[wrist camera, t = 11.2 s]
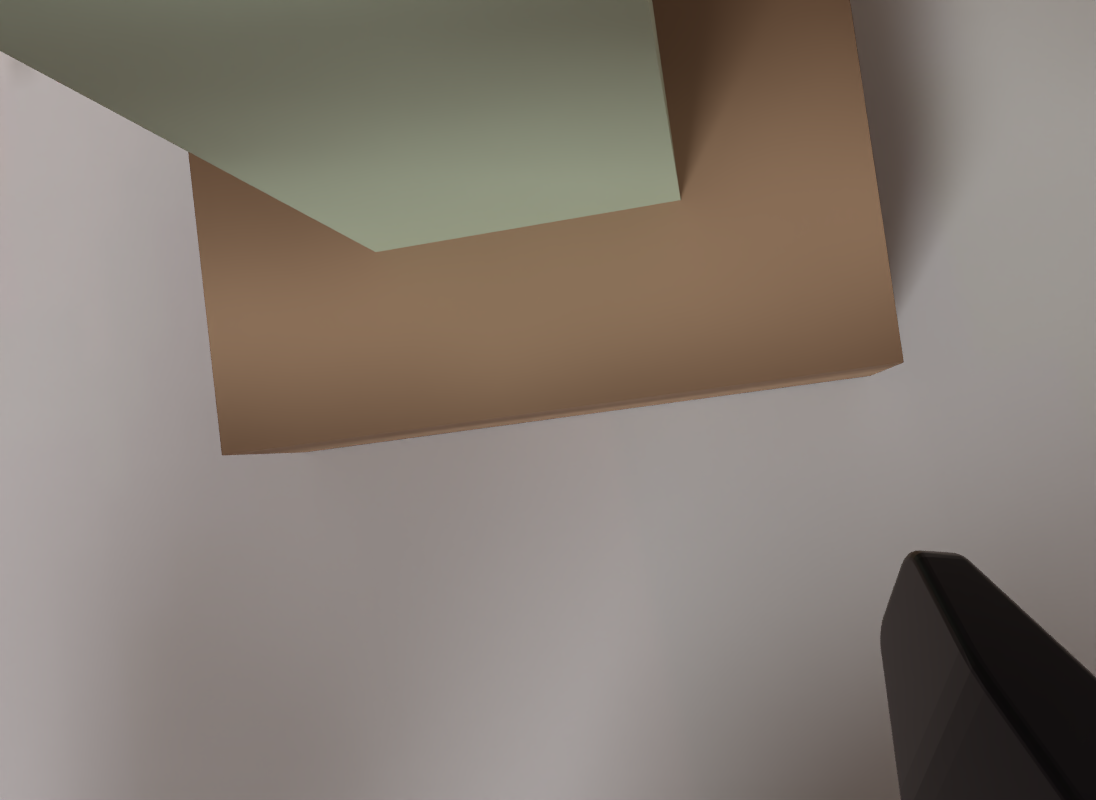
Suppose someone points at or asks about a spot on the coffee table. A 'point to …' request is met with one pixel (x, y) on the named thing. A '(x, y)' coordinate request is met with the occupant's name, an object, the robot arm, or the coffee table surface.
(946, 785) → the robot arm
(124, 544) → the coffee table surface
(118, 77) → the post
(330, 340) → the base block
